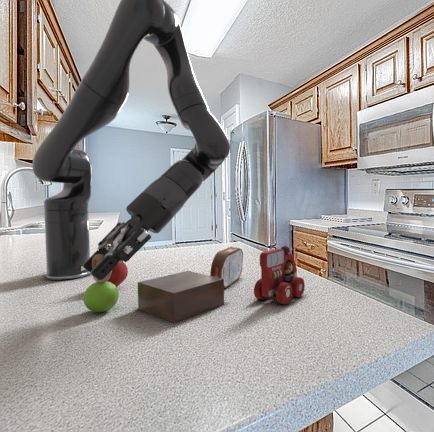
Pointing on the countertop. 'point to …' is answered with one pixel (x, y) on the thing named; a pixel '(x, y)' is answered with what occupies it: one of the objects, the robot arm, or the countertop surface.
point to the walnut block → (180, 295)
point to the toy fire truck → (278, 276)
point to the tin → (227, 265)
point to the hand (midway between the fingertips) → (91, 273)
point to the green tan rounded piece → (100, 290)
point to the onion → (118, 274)
